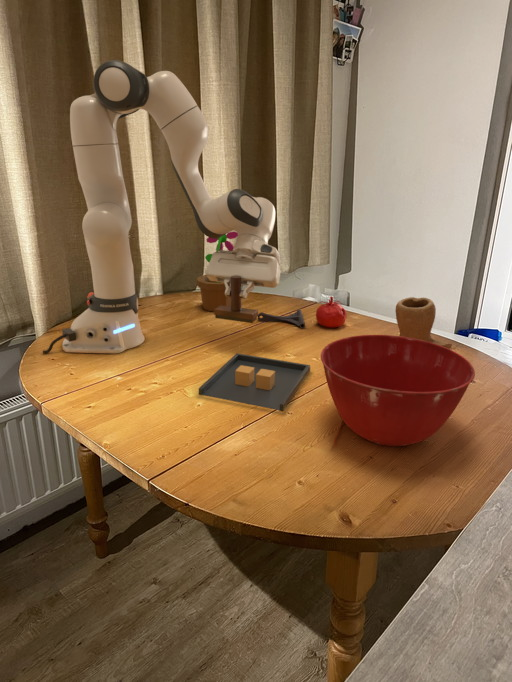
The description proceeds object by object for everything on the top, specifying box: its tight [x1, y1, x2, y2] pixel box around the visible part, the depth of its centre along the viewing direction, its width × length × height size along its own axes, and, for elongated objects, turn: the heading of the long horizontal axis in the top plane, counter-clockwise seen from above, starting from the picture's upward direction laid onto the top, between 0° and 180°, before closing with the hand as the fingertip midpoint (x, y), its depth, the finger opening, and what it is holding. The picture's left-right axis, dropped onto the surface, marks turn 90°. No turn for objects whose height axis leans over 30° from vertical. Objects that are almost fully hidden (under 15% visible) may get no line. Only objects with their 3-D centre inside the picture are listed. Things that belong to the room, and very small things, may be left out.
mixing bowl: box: [320, 334, 476, 447], centre depth 99 cm, size 28×28×15 cm
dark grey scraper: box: [257, 309, 306, 329], centre depth 162 cm, size 14×15×3 cm
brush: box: [213, 275, 259, 324], centre depth 132 cm, size 11×4×12 cm, turn 69°
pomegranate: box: [315, 295, 348, 329], centre depth 158 cm, size 10×10×9 cm
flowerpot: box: [196, 230, 238, 312], centre depth 170 cm, size 14×14×30 cm
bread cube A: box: [256, 369, 275, 391], centre depth 116 cm, size 4×4×4 cm
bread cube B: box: [235, 365, 254, 387], centre depth 118 cm, size 4×4×4 cm
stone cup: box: [395, 296, 453, 350], centre depth 138 cm, size 15×12×15 cm
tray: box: [198, 352, 311, 412], centre depth 119 cm, size 22×20×2 cm
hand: (235, 296), depth 131 cm, fingers closed on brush, 3 cm apart
